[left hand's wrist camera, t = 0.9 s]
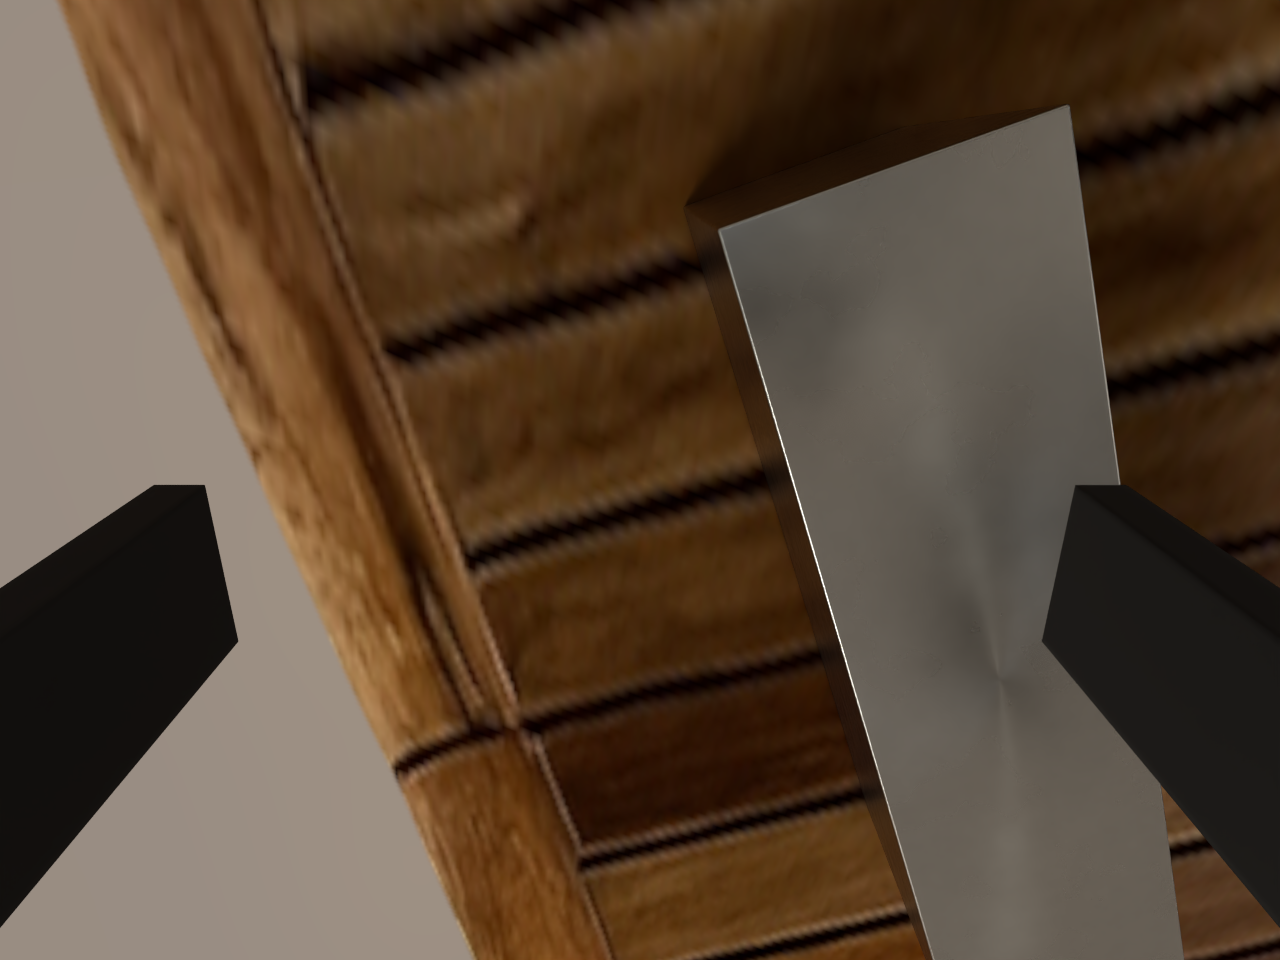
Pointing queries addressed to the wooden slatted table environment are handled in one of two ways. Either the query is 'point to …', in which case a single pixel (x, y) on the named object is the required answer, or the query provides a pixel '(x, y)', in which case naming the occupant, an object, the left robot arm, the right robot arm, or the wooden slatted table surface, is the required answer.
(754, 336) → the box
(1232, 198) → the wooden slatted table surface
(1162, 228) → the wooden slatted table surface
